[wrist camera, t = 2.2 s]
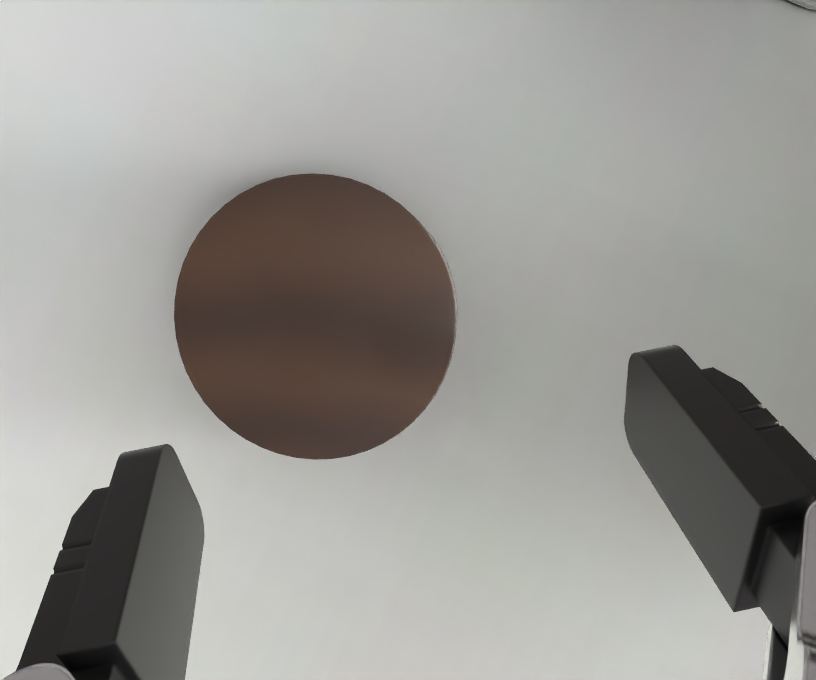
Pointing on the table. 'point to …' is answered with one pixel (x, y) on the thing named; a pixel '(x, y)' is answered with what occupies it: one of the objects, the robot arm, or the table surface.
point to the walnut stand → (315, 316)
